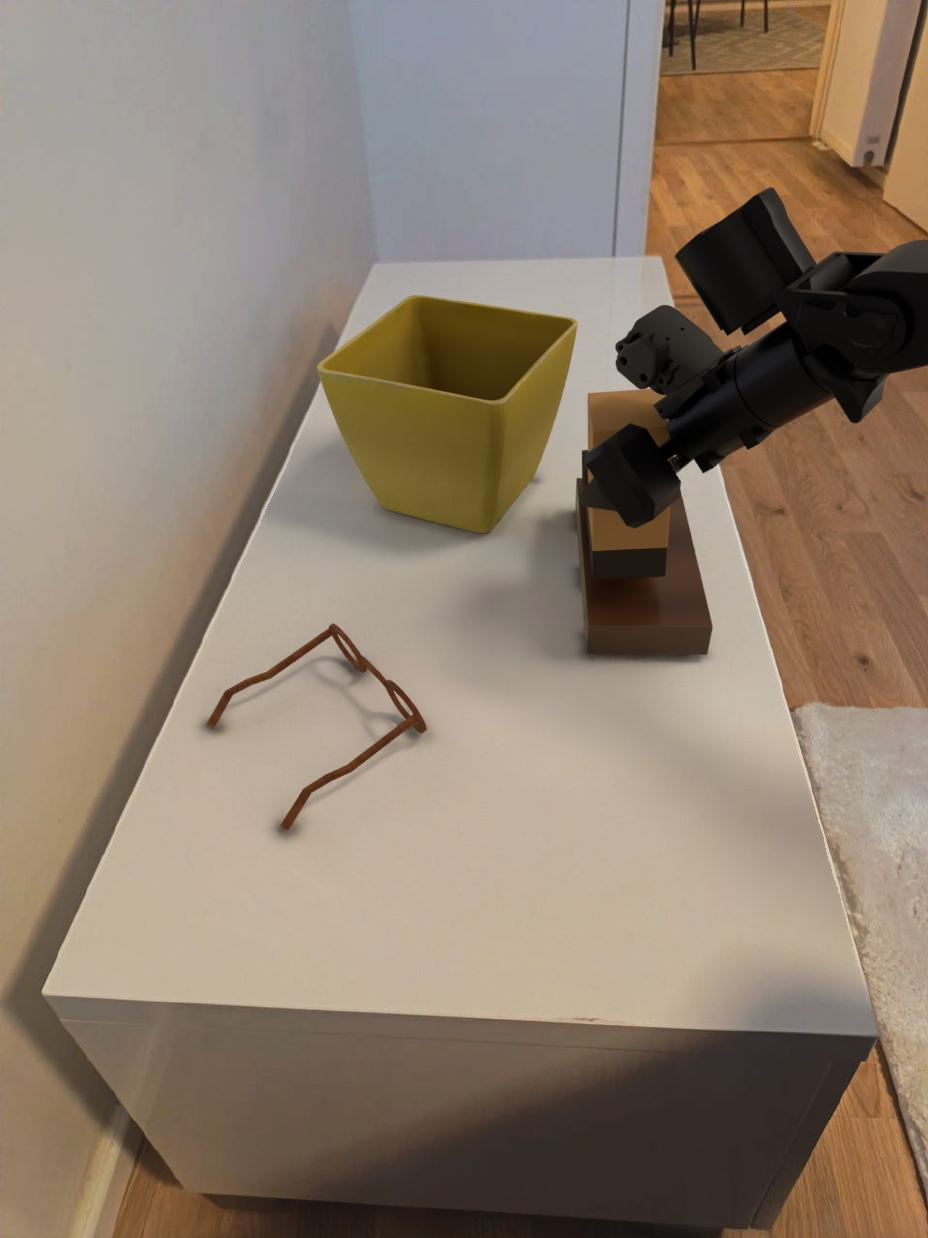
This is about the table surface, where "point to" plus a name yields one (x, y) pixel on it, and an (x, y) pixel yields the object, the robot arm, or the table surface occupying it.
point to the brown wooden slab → (646, 599)
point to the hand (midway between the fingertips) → (613, 476)
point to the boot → (608, 535)
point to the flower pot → (450, 405)
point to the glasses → (361, 667)
